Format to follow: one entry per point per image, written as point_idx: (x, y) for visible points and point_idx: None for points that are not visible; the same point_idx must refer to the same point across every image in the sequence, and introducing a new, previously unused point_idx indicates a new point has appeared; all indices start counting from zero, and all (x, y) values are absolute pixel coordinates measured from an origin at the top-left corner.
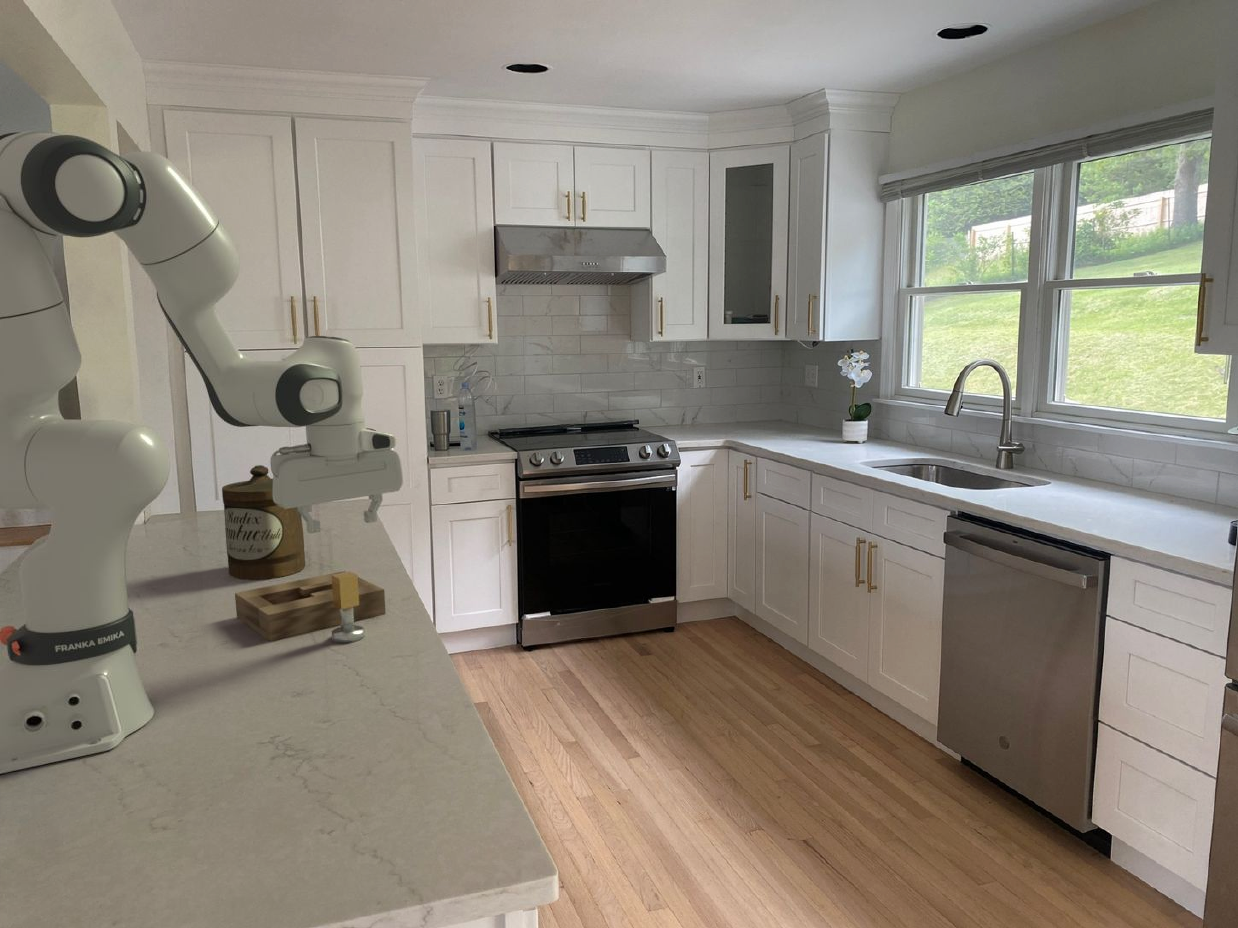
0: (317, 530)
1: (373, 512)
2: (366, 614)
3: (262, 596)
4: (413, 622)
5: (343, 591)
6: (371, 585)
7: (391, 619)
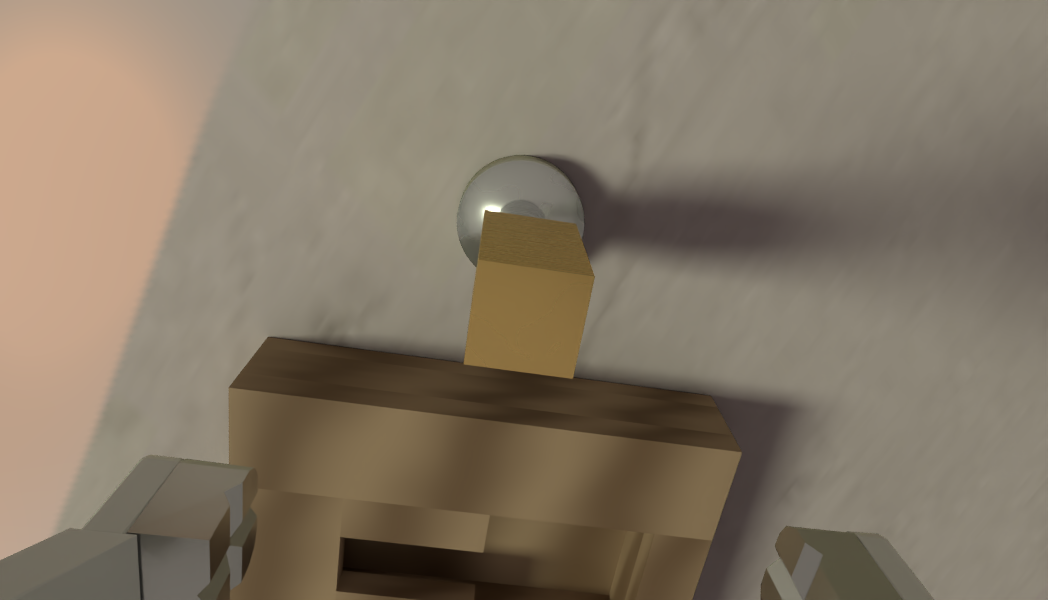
0: (825, 533)
1: (133, 527)
2: (346, 354)
3: None
4: (236, 160)
5: (566, 248)
6: None
7: (285, 263)
